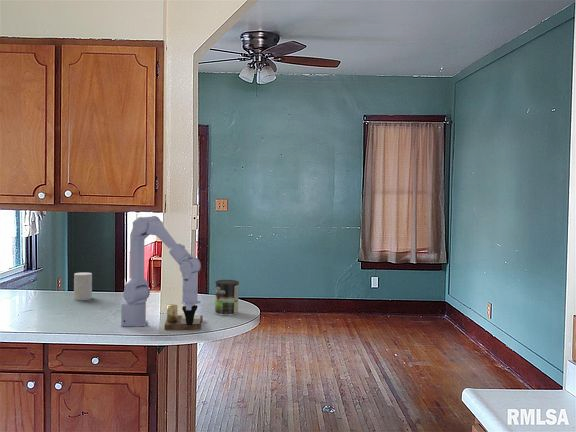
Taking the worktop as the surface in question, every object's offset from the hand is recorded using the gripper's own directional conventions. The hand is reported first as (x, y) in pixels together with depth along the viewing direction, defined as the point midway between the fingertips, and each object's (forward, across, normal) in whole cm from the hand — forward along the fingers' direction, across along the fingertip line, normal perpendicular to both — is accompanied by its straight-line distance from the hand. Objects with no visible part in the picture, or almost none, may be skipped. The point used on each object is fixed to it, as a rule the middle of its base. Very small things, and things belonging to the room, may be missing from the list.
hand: (189, 324), depth 236 cm
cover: (+1, +8, 0) cm, 8 cm away
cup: (+3, +65, +55) cm, 85 cm away
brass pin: (+1, +9, +8) cm, 12 cm away
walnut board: (+3, +12, +3) cm, 13 cm away
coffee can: (+3, +33, -14) cm, 36 cm away
